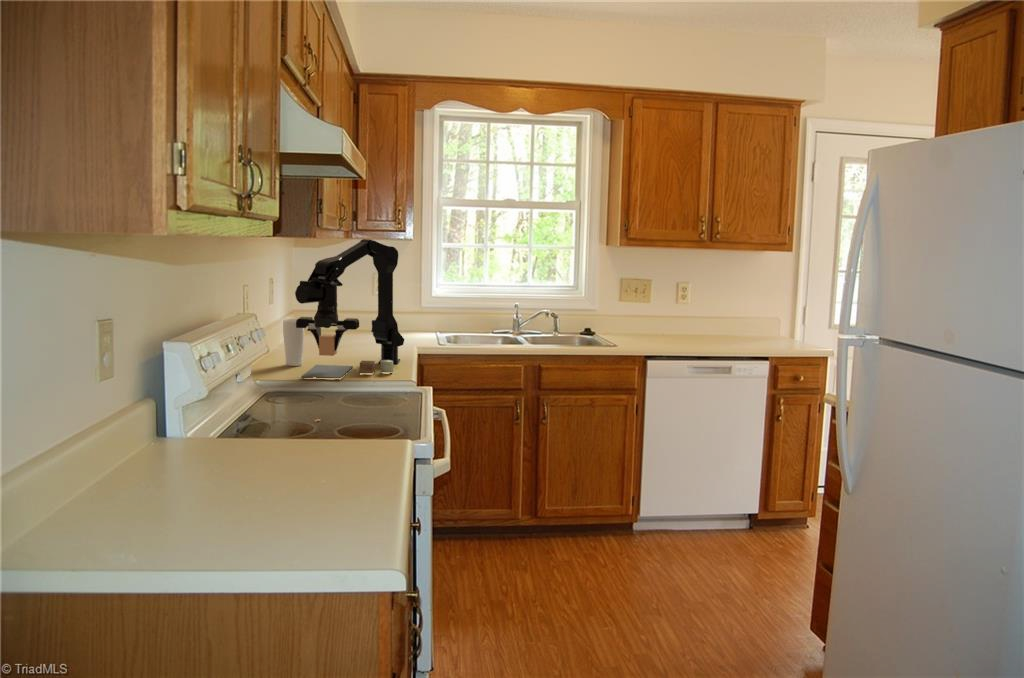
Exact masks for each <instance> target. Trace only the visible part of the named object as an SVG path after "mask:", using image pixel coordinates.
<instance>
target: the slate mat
mask: <svg viewBox="0 0 1024 678" xmlns="http://www.w3.org/2000/svg"><path fill="white" fill-rule="evenodd" d="M350 370H351V371H352V370H354V367H353V365H343V364H342V365H337V364H314V366H313V367H311V368H310V369H309V370H307V371H306V372H305V373H304V374H302V375H301V377H300V378H313V377H316V378H341V377H343V376H344V375H345V374H346V373H348V372H349V371H350ZM351 371H350V372H351ZM350 372H349V373H350ZM349 373H348V374H349Z"/></svg>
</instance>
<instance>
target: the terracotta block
mask: <svg viewBox="0 0 1024 678" xmlns="http://www.w3.org/2000/svg"><path fill="white" fill-rule="evenodd" d="M335 337H336V333H334V334H333V333H331V334H326V333H321V335H320V336H319V348H318V351H319V353H318V356H324V357H325V356H327V357H329V356H331V357H333V356H334V357H335V355H337V352H338V349H337V350H336V351H335Z"/></svg>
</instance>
